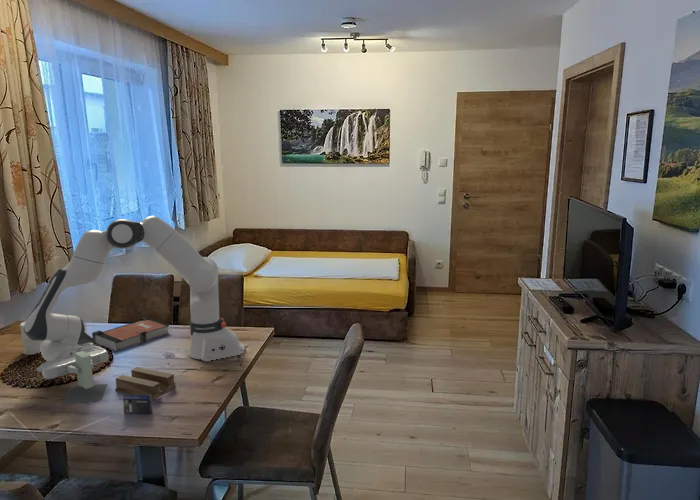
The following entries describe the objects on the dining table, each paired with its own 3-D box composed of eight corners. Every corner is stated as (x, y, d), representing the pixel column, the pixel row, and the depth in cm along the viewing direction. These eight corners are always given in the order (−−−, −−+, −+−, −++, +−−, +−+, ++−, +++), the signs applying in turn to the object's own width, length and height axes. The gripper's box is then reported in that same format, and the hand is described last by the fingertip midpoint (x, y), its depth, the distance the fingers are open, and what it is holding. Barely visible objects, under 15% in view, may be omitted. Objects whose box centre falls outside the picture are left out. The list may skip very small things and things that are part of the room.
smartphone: (84, 332, 220) (95, 340, 209) (84, 333, 220) (96, 342, 209) (66, 335, 214) (76, 344, 204) (66, 337, 215) (77, 346, 204)
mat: (107, 384, 171) (107, 383, 171) (101, 400, 159) (101, 399, 159) (69, 389, 167) (69, 388, 167) (60, 405, 156) (60, 404, 156)
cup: (18, 352, 197) (15, 324, 194) (38, 345, 204) (35, 318, 202) (32, 355, 194) (29, 327, 191) (51, 348, 201) (48, 321, 199)
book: (116, 353, 199) (116, 341, 198) (93, 343, 208) (92, 332, 207) (170, 334, 221) (170, 323, 220) (147, 326, 230) (146, 316, 229)
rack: (139, 378, 176) (138, 366, 175) (175, 386, 170) (174, 373, 170) (115, 391, 166) (114, 379, 165) (152, 400, 160) (152, 387, 159)
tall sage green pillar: (85, 381, 165) (82, 350, 163) (93, 386, 162) (90, 355, 160) (78, 383, 164) (74, 353, 161) (85, 389, 160) (82, 357, 158)
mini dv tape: (124, 413, 152) (122, 396, 151) (126, 411, 153) (125, 393, 152) (150, 414, 152) (149, 396, 151) (152, 411, 153) (151, 394, 152)
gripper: (33, 359, 161) (49, 370, 152) (96, 341, 177) (114, 350, 168) (35, 376, 162) (51, 389, 154) (98, 357, 178) (116, 367, 169)
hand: (85, 369), depth 161 cm, fingers closed on tall sage green pillar, 2 cm apart
